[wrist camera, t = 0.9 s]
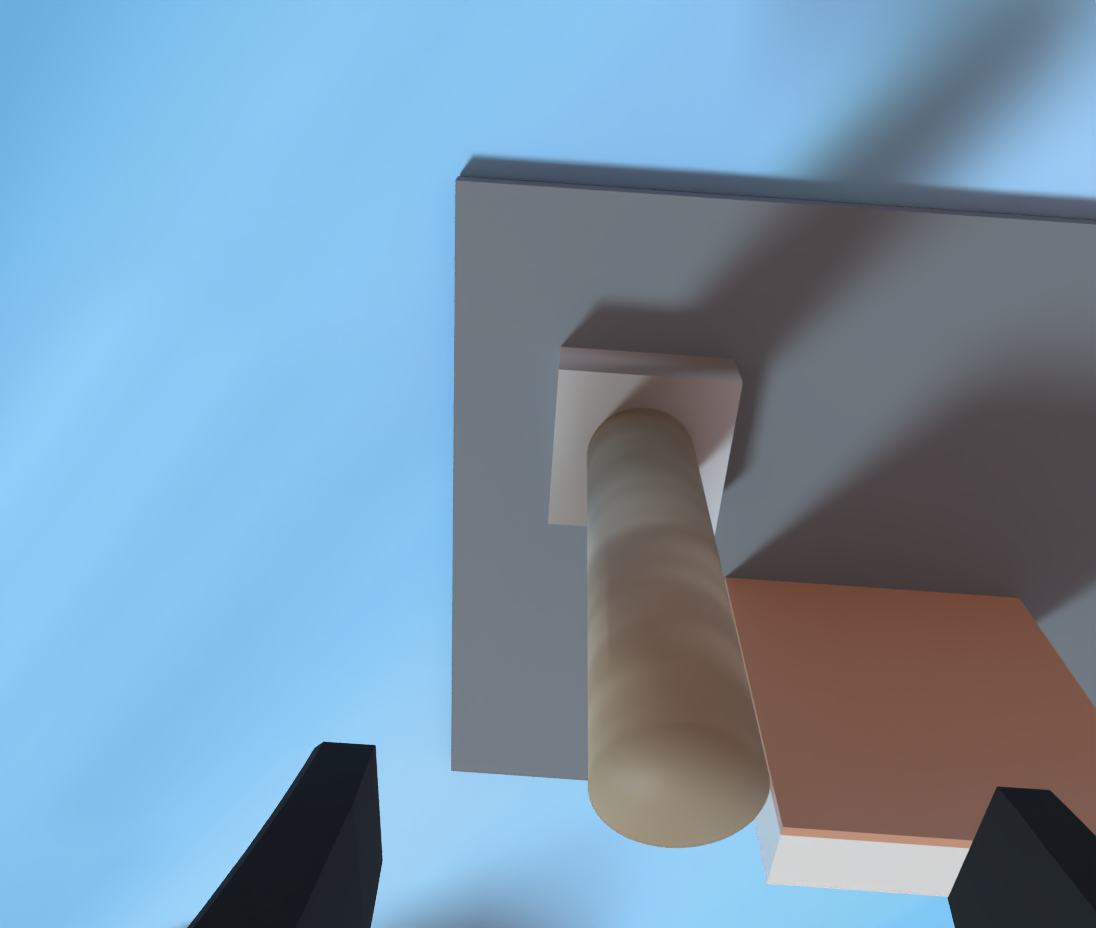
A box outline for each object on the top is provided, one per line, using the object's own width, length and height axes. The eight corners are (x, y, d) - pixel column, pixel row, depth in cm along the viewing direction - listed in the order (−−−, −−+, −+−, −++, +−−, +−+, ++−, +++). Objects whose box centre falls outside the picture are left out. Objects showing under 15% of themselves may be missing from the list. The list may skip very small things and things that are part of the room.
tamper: (733, 358, 18) (860, 688, 10) (707, 505, 20) (796, 891, 12) (560, 346, 18) (538, 665, 10) (549, 494, 20) (523, 872, 12)
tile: (1018, 598, 21) (1198, 856, 15) (999, 646, 22) (1163, 912, 15) (725, 577, 21) (783, 827, 15) (715, 626, 22) (766, 883, 16)
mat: (1493, 247, 17) (1513, 252, 17) (1160, 809, 25) (1168, 821, 24) (458, 176, 17) (455, 180, 17) (452, 759, 25) (451, 770, 24)
